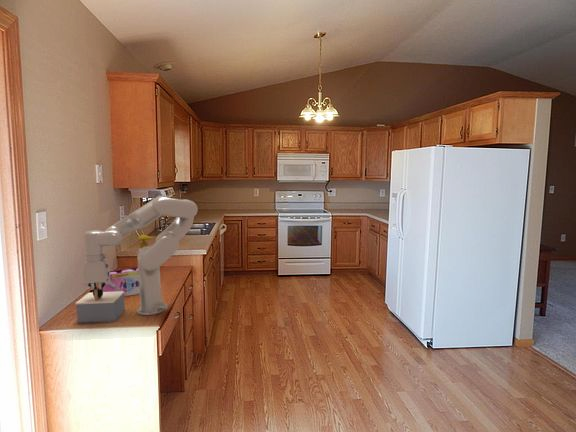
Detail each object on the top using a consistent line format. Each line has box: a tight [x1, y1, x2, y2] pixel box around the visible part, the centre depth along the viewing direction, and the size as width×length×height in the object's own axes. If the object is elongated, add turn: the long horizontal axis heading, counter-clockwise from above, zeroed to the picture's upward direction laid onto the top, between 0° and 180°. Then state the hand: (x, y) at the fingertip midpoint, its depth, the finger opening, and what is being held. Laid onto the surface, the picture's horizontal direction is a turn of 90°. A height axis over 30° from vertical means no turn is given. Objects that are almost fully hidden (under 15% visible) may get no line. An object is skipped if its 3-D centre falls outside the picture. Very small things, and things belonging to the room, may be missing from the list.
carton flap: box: [74, 286, 124, 305], centre depth 172 cm, size 14×16×6 cm
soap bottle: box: [137, 234, 155, 252], centre depth 228 cm, size 13×10×29 cm
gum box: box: [103, 266, 140, 298], centre depth 205 cm, size 24×8×14 cm, turn 123°
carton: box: [75, 293, 126, 324], centre depth 174 cm, size 14×16×9 cm
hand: (98, 296), depth 170 cm, fingers closed
